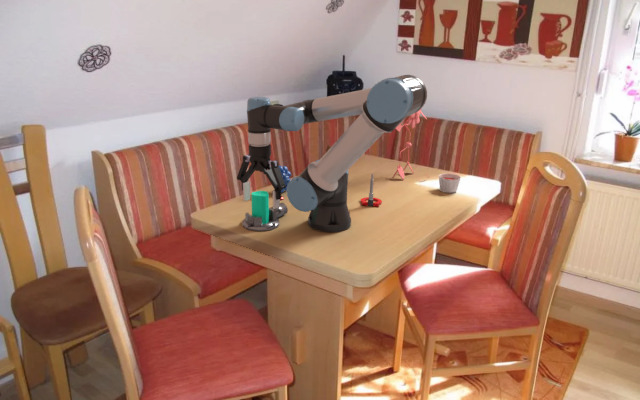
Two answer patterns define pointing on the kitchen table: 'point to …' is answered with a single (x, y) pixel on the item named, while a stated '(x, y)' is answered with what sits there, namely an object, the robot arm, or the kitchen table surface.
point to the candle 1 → (260, 205)
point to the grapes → (285, 176)
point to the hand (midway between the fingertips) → (261, 203)
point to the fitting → (256, 222)
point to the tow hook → (371, 197)
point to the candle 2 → (449, 182)
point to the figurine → (415, 120)
